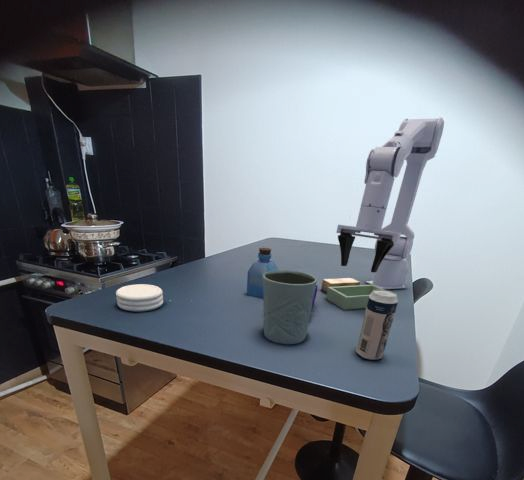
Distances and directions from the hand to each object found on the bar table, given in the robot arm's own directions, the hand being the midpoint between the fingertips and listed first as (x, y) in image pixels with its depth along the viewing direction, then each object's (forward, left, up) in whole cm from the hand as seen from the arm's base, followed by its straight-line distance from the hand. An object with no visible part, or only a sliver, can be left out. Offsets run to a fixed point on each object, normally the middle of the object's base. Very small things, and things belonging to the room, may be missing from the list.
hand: (358, 268), depth 77 cm
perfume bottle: (+19, -15, -10) cm, 26 cm away
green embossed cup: (+24, +10, -10) cm, 28 cm away
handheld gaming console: (+16, -2, -10) cm, 19 cm away
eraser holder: (-5, -4, -10) cm, 12 cm away
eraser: (-5, -13, -10) cm, 17 cm away
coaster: (+50, -13, -10) cm, 52 cm away
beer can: (+12, +22, -10) cm, 27 cm away
